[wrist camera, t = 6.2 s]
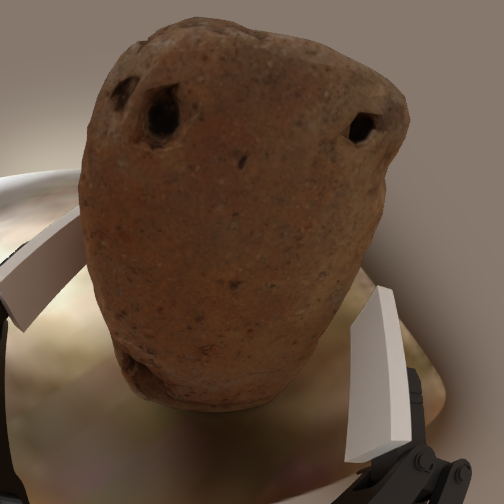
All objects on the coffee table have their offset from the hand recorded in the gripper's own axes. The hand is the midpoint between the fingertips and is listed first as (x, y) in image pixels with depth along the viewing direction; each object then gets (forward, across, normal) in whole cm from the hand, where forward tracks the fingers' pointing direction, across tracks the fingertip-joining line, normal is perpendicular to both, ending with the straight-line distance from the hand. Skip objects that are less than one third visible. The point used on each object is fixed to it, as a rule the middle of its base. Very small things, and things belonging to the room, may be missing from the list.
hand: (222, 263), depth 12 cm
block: (0, 0, -11) cm, 11 cm away
